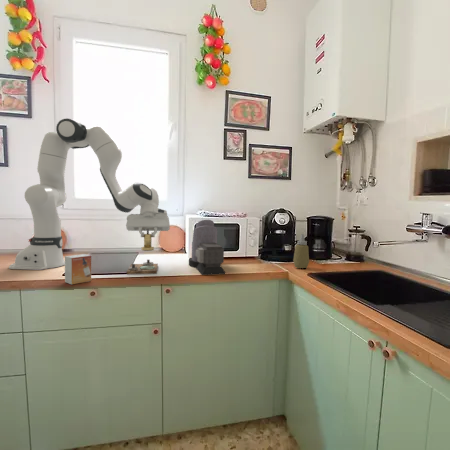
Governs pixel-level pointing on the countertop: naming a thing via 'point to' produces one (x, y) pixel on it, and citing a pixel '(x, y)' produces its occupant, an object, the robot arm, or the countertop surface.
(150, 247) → the brass pinion
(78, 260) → the small box
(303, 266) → the squeeze bottle
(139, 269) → the gear board
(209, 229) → the juicer
